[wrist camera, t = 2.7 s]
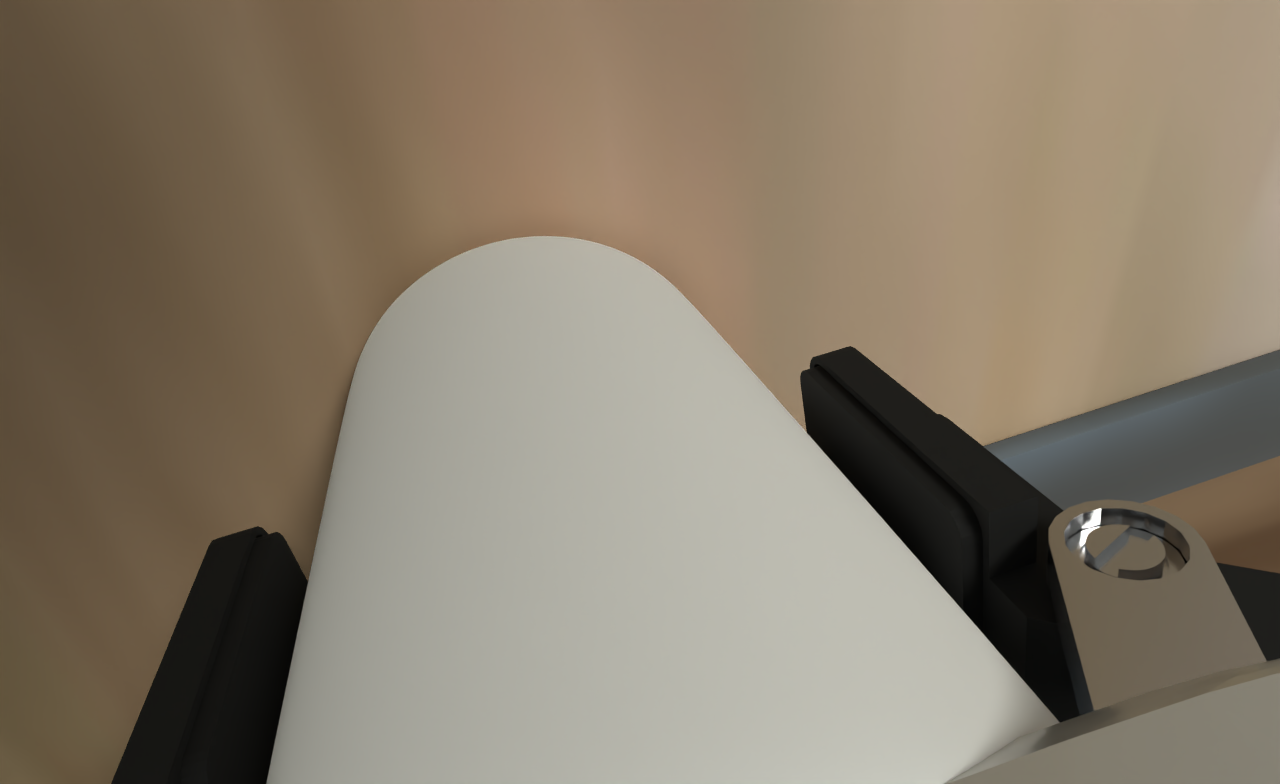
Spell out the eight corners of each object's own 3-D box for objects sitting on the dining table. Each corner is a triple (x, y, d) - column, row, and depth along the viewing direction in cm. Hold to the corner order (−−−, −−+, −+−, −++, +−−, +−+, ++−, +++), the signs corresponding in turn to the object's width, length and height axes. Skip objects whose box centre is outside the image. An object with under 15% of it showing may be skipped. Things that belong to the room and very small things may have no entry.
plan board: (639, 558, 16) (711, 750, 12) (1458, 291, 19) (1760, 375, 14) (748, 965, 24) (817, 1171, 20) (1321, 741, 26) (1493, 882, 22)
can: (541, 607, 16) (745, 1706, 6) (265, 421, 13) (-357, 2003, 3) (777, 392, 15) (1530, 1225, 5) (539, 141, 12) (1162, 906, 2)
